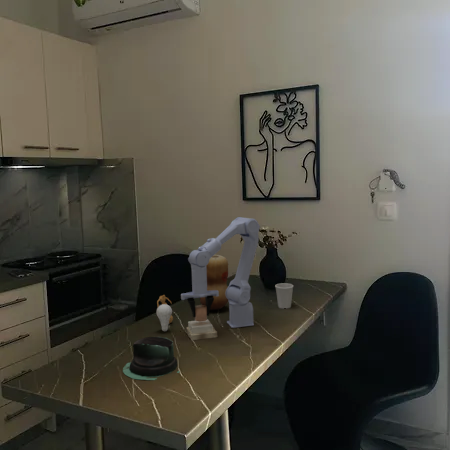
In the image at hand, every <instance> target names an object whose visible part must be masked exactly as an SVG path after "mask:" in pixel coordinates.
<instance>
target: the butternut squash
mask: <svg viewBox="0 0 450 450" xmlns="http://www.w3.org/2000/svg"><path fill="white" fill-rule="evenodd" d="M206 269H207V291H211V290H218V291H219V296H213V298H214V301H213V303H212V305H211V308H210V311H219V310H222V309H223V307H225V306H226V305H227V304H229V302H228V299H227V298H226V295H225V292H226V289H227V288H228V284H227V283H228V277H229V261H228V258H226V257H225V256H224V255H223V256H222V255H220V254H215V255H213V256H212V257H211V258H210V260H209V263H208V264H207V265H206ZM199 301H200V305H205V306H206V301H205V297H201V298H199Z"/></svg>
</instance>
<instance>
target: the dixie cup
mask: <svg viewBox="0 0 450 450" xmlns="http://www.w3.org/2000/svg"><path fill="white" fill-rule="evenodd" d="M274 287H275V291H276V293H275V294H276V298H277V301H276V302H277V307H278V308H279V309H282V310H283V309H284V308H286V309H291V307H292V301H293V300H292V298H293V292H294V290H293V289H294V285H293V284H292V283H287V282H286V283H285V282H284V283H282V282H281V283H277V284H275V286H274Z"/></svg>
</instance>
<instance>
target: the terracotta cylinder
mask: <svg viewBox="0 0 450 450" xmlns="http://www.w3.org/2000/svg"><path fill="white" fill-rule="evenodd" d="M207 319H208V316H207V306H205V305H202V304H199V305H195V317H194V321H206V320H207Z"/></svg>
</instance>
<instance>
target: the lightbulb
mask: <svg viewBox="0 0 450 450" xmlns="http://www.w3.org/2000/svg"><path fill="white" fill-rule="evenodd" d="M172 314H173V310H172V307H171V306H170V305H168V304H167V305H166V304H162V303H161V304H159V307H158V306H157V308H156V316H157V317H158V319H159V323H160V326H161V331H163V332H167V331H169V324H170V323H169V319H170V317H171V315H172ZM172 316H173V315H172Z"/></svg>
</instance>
